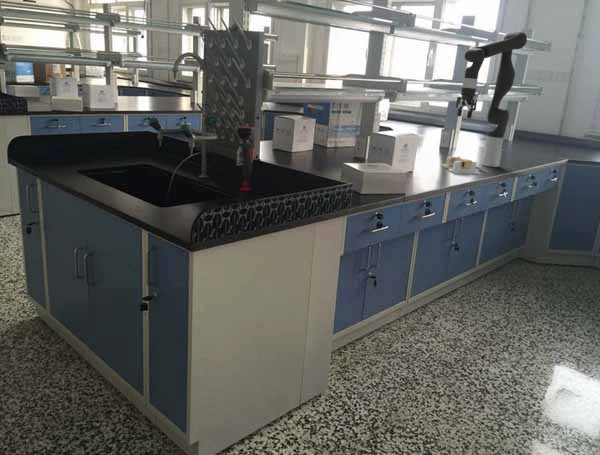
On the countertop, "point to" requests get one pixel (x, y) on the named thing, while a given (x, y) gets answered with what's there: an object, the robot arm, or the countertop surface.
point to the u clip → (466, 162)
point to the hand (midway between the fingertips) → (463, 117)
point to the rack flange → (459, 168)
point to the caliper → (479, 168)
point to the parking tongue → (450, 162)
